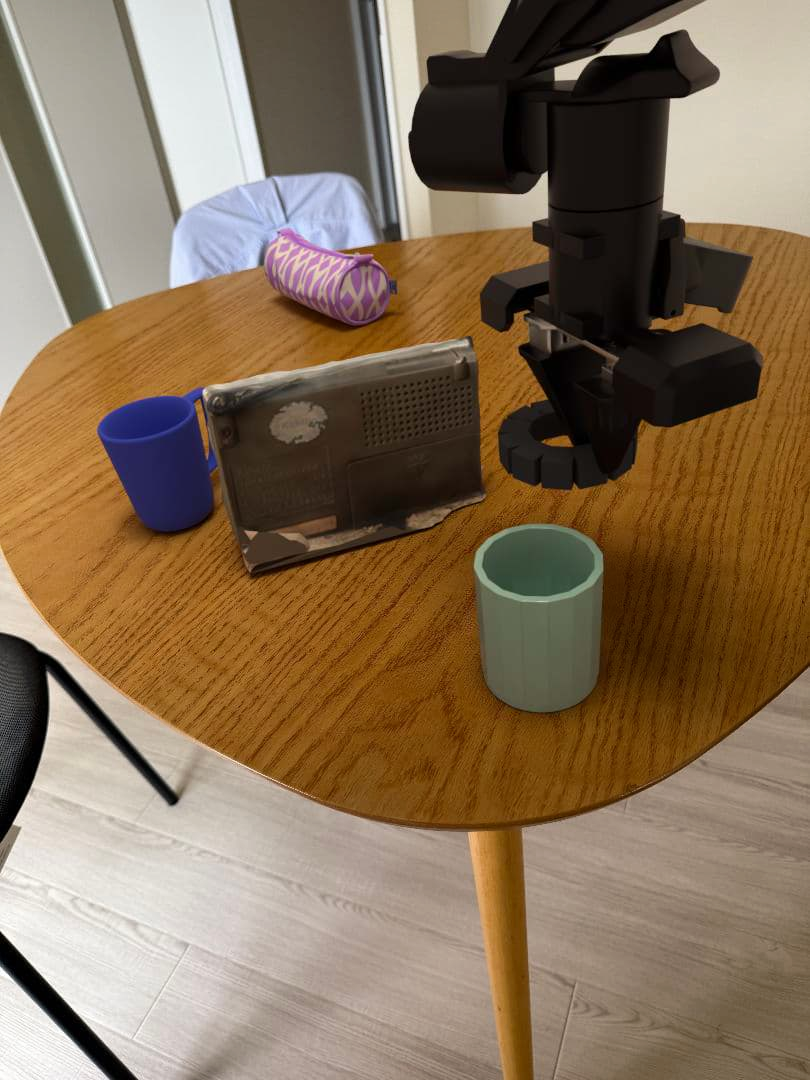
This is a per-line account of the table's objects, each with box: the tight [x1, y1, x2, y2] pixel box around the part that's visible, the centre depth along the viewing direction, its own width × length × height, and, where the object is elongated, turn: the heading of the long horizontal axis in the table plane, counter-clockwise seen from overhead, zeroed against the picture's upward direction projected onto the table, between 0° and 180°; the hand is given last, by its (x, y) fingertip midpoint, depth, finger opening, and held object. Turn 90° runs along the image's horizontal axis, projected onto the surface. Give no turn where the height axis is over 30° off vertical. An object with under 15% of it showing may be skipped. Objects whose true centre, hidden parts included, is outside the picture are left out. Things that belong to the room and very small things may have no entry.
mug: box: [96, 386, 218, 532], centre depth 70 cm, size 8×12×10 cm
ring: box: [497, 398, 639, 491], centre depth 51 cm, size 9×9×2 cm
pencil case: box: [263, 227, 398, 326], centre depth 109 cm, size 22×9×10 cm, turn 39°
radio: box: [202, 335, 488, 574], centre depth 63 cm, size 23×9×15 cm, turn 105°
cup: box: [473, 523, 604, 713], centre depth 48 cm, size 7×7×9 cm
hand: (597, 462), depth 49 cm, fingers closed on ring, 2 cm apart
